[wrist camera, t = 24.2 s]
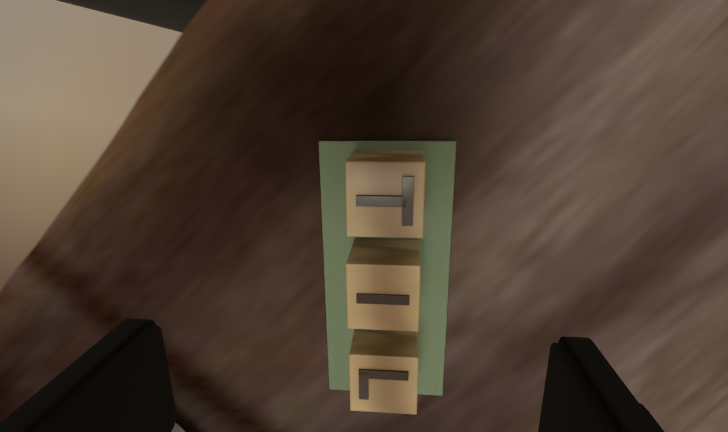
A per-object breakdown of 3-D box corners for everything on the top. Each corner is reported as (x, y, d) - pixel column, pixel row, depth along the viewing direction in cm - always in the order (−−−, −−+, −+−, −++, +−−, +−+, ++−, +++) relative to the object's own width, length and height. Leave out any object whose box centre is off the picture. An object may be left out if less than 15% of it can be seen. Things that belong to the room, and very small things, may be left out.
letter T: (354, 214, 32) (346, 238, 27) (353, 149, 30) (343, 161, 25) (420, 215, 31) (423, 239, 26) (422, 149, 30) (425, 161, 25)
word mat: (330, 386, 37) (329, 389, 37) (319, 140, 31) (318, 141, 30) (442, 392, 36) (442, 395, 36) (455, 140, 30) (456, 141, 29)
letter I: (355, 295, 34) (347, 330, 29) (354, 237, 32) (345, 265, 27) (416, 297, 33) (418, 333, 28) (418, 239, 32) (421, 266, 27)
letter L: (357, 368, 36) (349, 412, 31) (356, 317, 34) (348, 356, 29) (415, 371, 35) (416, 417, 30) (416, 319, 34) (418, 359, 29)
